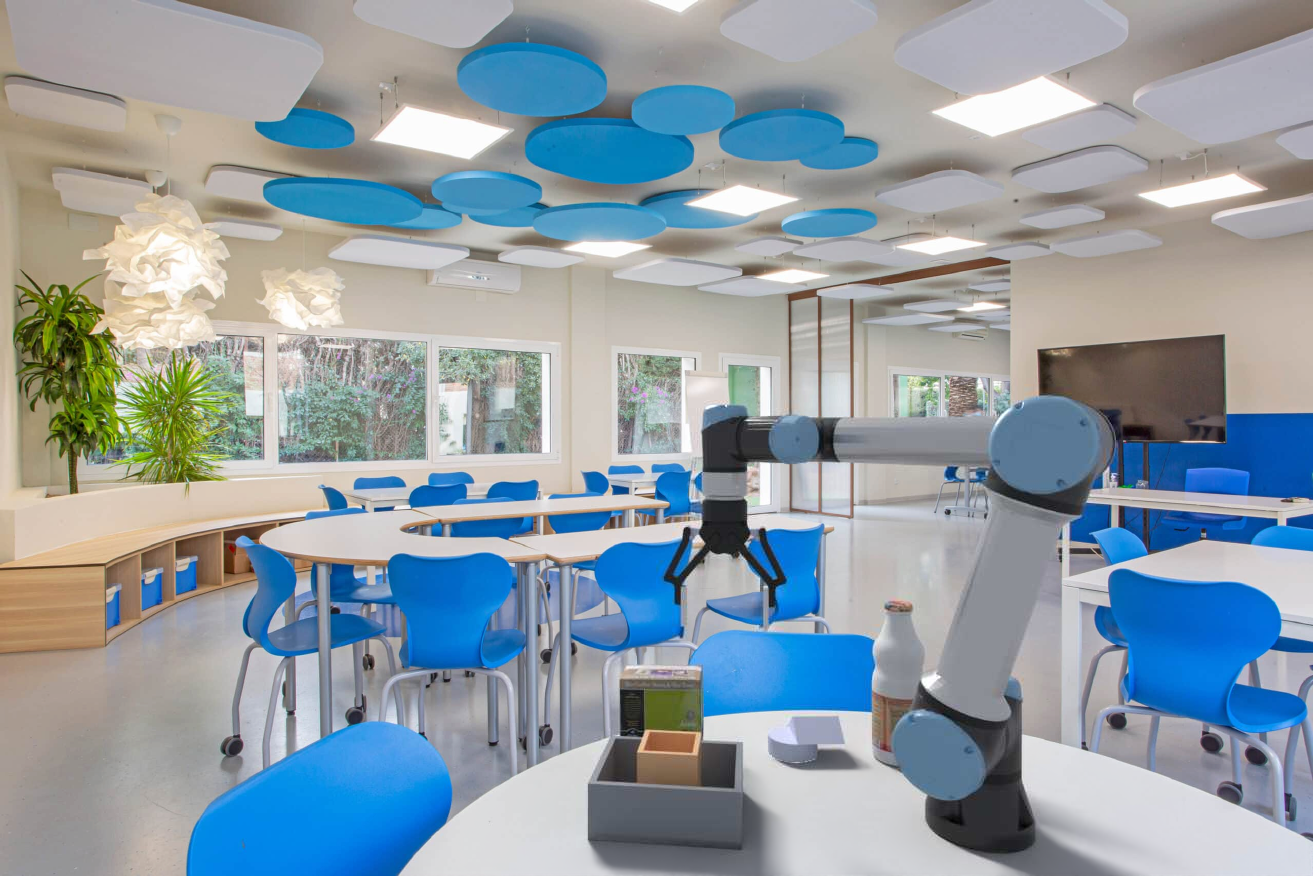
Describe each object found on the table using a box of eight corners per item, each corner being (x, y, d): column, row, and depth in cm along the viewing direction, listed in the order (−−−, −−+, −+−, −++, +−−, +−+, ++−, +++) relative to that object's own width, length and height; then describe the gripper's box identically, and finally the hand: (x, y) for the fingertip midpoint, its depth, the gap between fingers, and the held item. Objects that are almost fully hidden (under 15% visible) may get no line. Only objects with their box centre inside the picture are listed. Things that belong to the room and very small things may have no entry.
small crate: (701, 795, 120) (701, 732, 120) (697, 823, 111) (697, 755, 111) (645, 792, 121) (645, 729, 121) (637, 819, 112) (637, 752, 112)
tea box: (704, 741, 144) (704, 664, 145) (702, 763, 134) (701, 680, 135) (626, 738, 146) (626, 661, 146) (618, 759, 136) (618, 677, 136)
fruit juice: (861, 755, 138) (860, 602, 138) (893, 743, 143) (892, 596, 144) (905, 773, 130) (904, 611, 130) (937, 760, 136) (936, 604, 136)
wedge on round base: (832, 743, 144) (764, 743, 143) (832, 707, 144) (764, 708, 143) (845, 763, 135) (772, 763, 134) (845, 725, 135) (772, 726, 134)
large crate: (742, 791, 123) (742, 742, 123) (741, 849, 106) (741, 792, 106) (610, 783, 126) (610, 735, 126) (587, 839, 108) (587, 783, 108)
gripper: (799, 496, 127) (799, 622, 127) (653, 495, 130) (653, 618, 130) (802, 500, 120) (802, 633, 120) (647, 498, 123) (647, 628, 123)
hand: (724, 626), depth 125 cm, fingers open, 13 cm apart
